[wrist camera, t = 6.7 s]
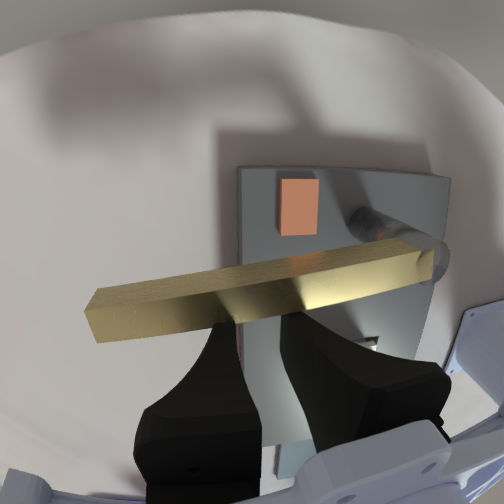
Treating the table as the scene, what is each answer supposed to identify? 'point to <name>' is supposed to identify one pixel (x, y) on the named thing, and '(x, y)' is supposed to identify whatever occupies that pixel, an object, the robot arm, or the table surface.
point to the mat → (293, 457)
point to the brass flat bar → (272, 283)
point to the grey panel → (320, 239)
